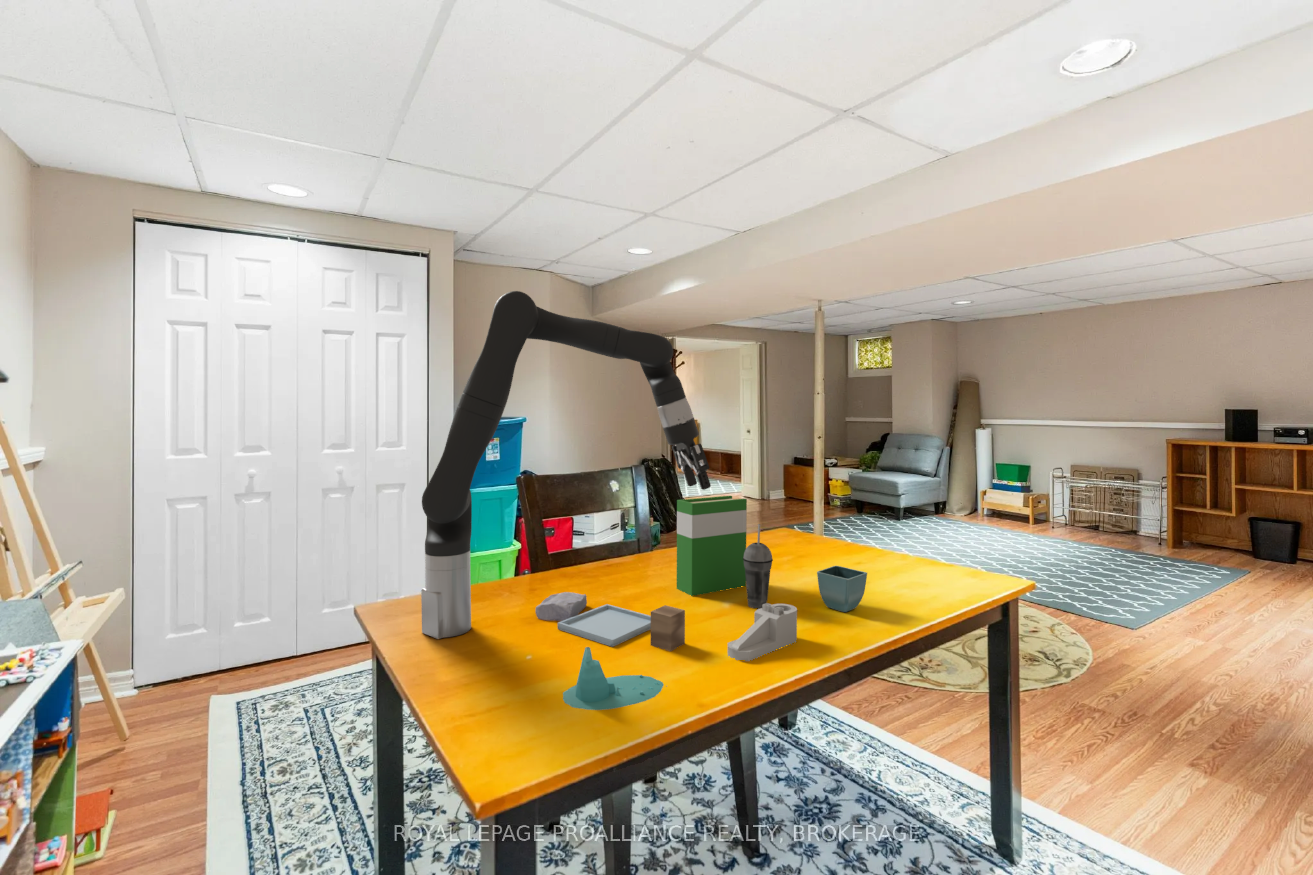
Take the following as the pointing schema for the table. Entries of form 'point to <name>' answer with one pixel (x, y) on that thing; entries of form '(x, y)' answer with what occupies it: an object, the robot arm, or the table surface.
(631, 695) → the diorama
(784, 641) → the sloped support bracket
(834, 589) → the flower pot
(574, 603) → the stone block
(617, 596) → the table surface
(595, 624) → the dish
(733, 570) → the hardback book
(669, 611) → the walnut block
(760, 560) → the beverage cup
